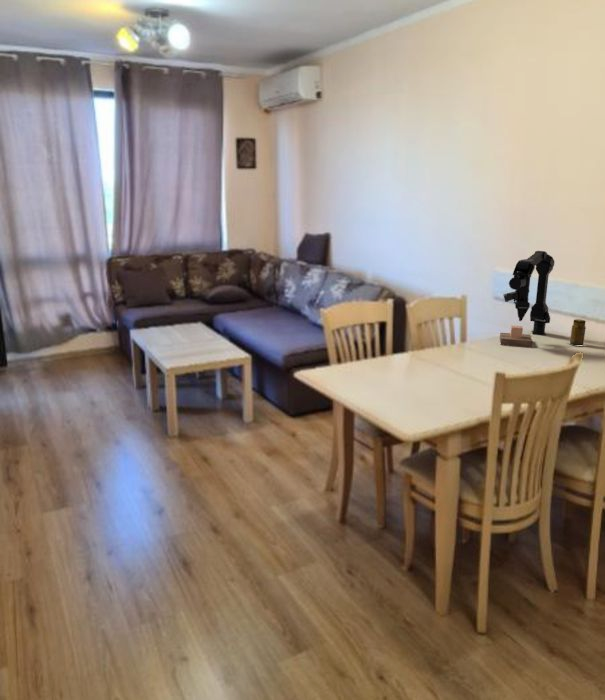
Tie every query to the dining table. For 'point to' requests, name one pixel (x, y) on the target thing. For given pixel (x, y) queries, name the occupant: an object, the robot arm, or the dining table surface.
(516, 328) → the cube
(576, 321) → the condiment
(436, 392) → the dining table surface
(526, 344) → the base plinth
